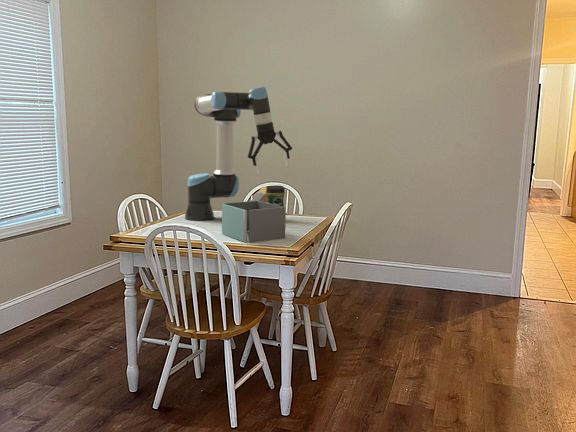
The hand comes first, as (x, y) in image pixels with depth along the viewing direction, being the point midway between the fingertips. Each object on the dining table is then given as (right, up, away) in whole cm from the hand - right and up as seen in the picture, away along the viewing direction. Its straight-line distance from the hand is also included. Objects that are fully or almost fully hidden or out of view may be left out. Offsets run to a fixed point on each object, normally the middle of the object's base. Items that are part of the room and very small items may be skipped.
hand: (273, 169), depth 250 cm
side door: (-17, -31, -7) cm, 36 cm away
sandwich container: (-12, -20, +60) cm, 64 cm away
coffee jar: (0, -24, +39) cm, 46 cm away
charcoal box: (-9, -30, -1) cm, 31 cm away
